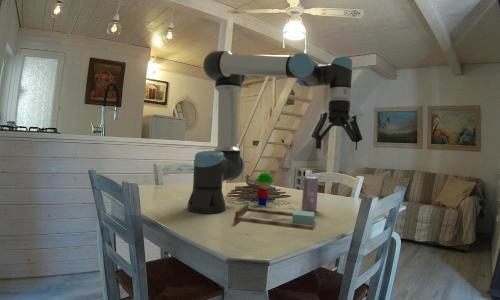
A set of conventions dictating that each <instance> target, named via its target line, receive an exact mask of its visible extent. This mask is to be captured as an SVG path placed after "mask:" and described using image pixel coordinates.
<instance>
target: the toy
mask: <svg viewBox="0 0 500 300" xmlns="http://www.w3.org/2000/svg"><path fill="white" fill-rule="evenodd" d="M256 182H257V184H258V187H259V188H258V190H257V193H256V196H255V198H256V199H258V206H265V207H266V206H267V199H270V197H269V196H268V195H269V194H268V189H269V188H270V187H271V185H272V183H274V182H275V179H273V177H272V175H271V173H270V172H265V171H264V172H262V173H259V175H258V177H257V178H256Z"/></svg>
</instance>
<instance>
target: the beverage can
mask: <svg viewBox="0 0 500 300" xmlns="http://www.w3.org/2000/svg"><path fill="white" fill-rule="evenodd" d="M318 190H319V178H318V177H317V176H303V180H302V198H301V201H302V202H301V211H309V212H317V208H318V206H317V205H318Z"/></svg>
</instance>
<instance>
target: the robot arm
mask: <svg viewBox="0 0 500 300" xmlns="http://www.w3.org/2000/svg"><path fill="white" fill-rule="evenodd" d="M202 65H203V70H204V73H205V75H206V76H207V77H208V78H209V79H210V80H213V81H214V82H215V84H214V89H215V90H216V91H217V93H218V102H217V103H218V105H217V106H218V107H217V111H218V112H217V146H216V147H215V148H214V150H204V151H203V150H202V151H198V152H197V153H196V154H195V155H194V161H193V181H192V182H193V183H192V191H191V194H190V196H189V199H188V201H187V207H186V208H187V210H188V211H189V212H192V213H197V214H217V213H222V212H224V211H226V200H225V197H224V194H223V182H224V181H225V182H226V181H233V180H235V179H236V180H237V179H238V178H239V177H240V176H242V174H243V173H244V170H245V160H244V158H243V157H242V156H241V149H240V148H239V147H238V112H239V110H238V106H239V105H238V104H239V102H238V101H239V100H238V99H239V92H240V91H242V86H243V85H244V84H243V83H244V82H245V80H246V76H255V77H256V76H257V77H274V78H288V79H297V83H298V85H299V86H301V87H308V88H309V87H318V86H320V87H321V86H322V87H323V86H329V93H328V100H329V102H328V108H327V109H328V112H326V111H325V112H321V113H320V116H319V120H318V122H317V123H316V125H315V127H314V129H313V131H312V134H311V138H313V139H314V140H315V149H317V153H316V159H324V146H325V145H324V143H325V140H324V139H323V138H324V137H325V136H326V135H327V134H328V133H329V131H330V130H331V129H332V128H333V127H339V128H340V127H341V128H342V129H344V131H345V133H346V134H347V136H348V138H349V139H350V140H351V141H349V144H348V145H349V149H348V160H355V159H356V151H357V150H358V143H359V142H360V141H363V136H362V133H361V130H360V128H359V125H358V121H357V115H355V114H352V115H349V113H350V110H351V101H350V100H351V93H352V78H353V59H351V58H350V57H348V56H342V55H340V56H337V57H336V56H335V57H333V58H332V59H331V61H330V63H329V64H318V63H317V62H316V61H315V60H314V59H313V58H312V57H311V56H310V55H309V54H307V53H304V52H297V53H295V54H293V55H280V54H279V55H277V54H273V55H272V54H271V55H270V54H244V53H243V54H242V53H241V54H240V53H236V54H235V53H232V52H231V51H228V50H215V51H211V52H209V53H208V54H207V55H206V56H205V58H204V59H203V64H202ZM327 119H328V121H327ZM326 121H327V122H326Z"/></svg>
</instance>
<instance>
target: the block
mask: <svg viewBox="0 0 500 300" xmlns="http://www.w3.org/2000/svg"><path fill="white" fill-rule="evenodd" d="M292 213H293V216H291V217H292V218H291V219H292V223H295V224H304V225H312V226H313V227H314V224H315V223H314V222H315V211H313V212H311V211H304V210H299V209H298V210H297V209H294V210H293V212H292Z"/></svg>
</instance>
